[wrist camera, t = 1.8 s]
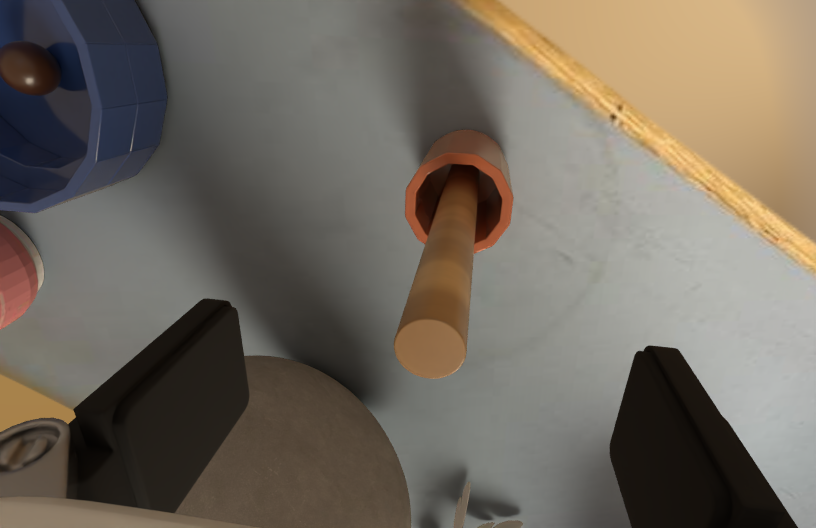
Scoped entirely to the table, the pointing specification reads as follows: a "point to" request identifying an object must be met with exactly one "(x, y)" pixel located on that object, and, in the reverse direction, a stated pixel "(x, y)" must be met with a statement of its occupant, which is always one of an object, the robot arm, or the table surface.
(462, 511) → the fairy figurine
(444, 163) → the holder
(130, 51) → the bowl
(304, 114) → the table surface
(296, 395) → the grey-brown thick disc
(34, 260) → the container
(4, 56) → the bead
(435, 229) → the stick
